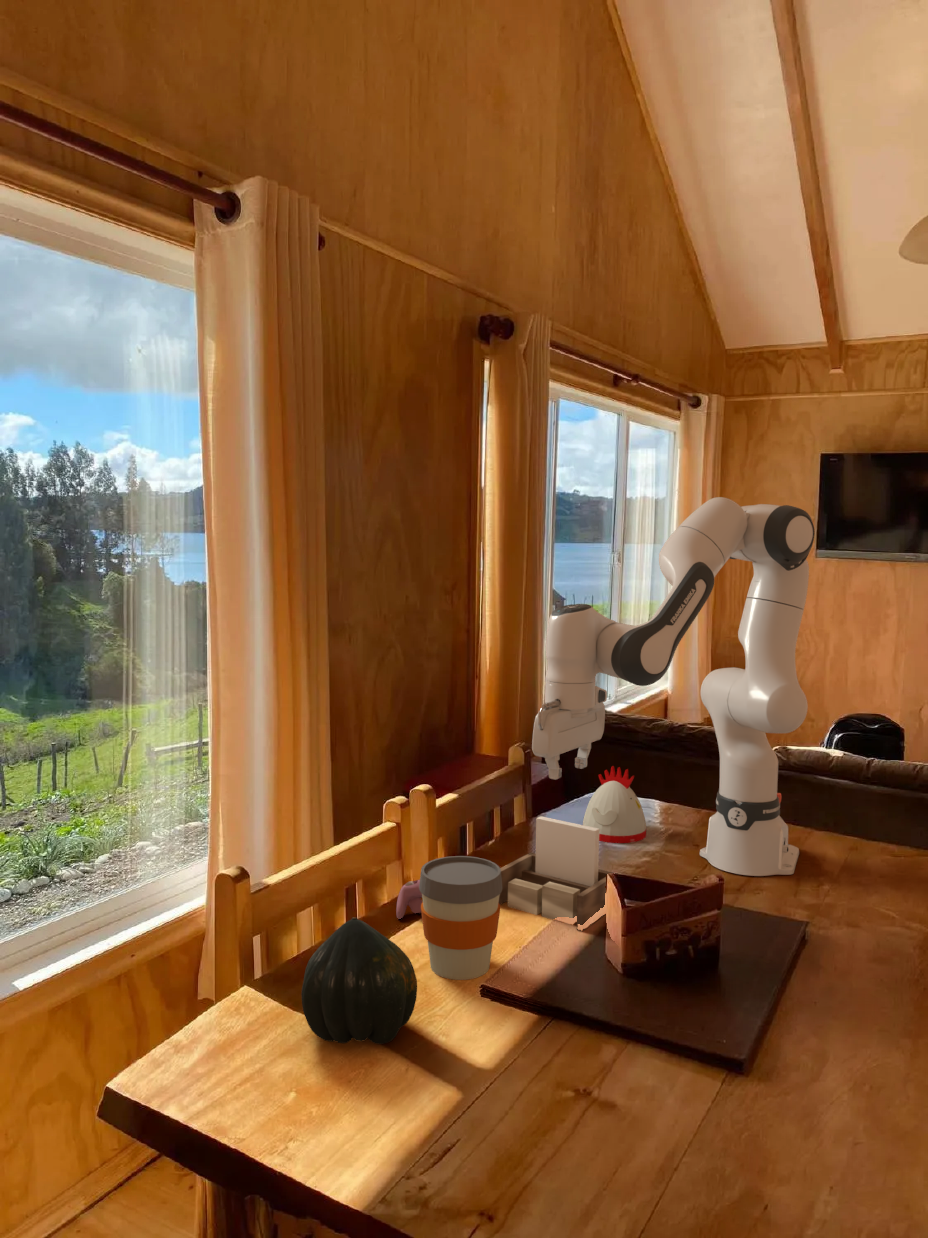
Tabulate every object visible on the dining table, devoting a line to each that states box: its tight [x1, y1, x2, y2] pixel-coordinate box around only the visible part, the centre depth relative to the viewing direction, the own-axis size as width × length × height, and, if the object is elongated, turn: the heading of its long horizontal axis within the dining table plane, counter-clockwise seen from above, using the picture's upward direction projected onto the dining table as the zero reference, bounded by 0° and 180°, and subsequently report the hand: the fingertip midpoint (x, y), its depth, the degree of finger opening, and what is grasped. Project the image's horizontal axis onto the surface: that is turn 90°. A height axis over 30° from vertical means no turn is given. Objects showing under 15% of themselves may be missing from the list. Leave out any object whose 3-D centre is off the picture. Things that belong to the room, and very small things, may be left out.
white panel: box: [535, 816, 600, 886], centre depth 165 cm, size 2×12×14 cm, turn 54°
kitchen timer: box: [582, 765, 647, 844], centre depth 203 cm, size 14×14×15 cm
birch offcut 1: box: [507, 878, 542, 916], centre depth 161 cm, size 2×6×4 cm, turn 54°
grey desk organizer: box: [498, 852, 619, 925], centre depth 162 cm, size 13×18×6 cm
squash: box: [300, 916, 418, 1045], centre depth 121 cm, size 14×15×15 cm
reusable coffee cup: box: [419, 855, 502, 981], centre depth 139 cm, size 13×13×15 cm
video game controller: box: [395, 879, 423, 920], centre depth 158 cm, size 10×5×7 cm, turn 84°
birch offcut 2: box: [541, 882, 580, 921], centre depth 157 cm, size 2×6×6 cm, turn 54°
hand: (568, 772), depth 164 cm, fingers open, 8 cm apart
